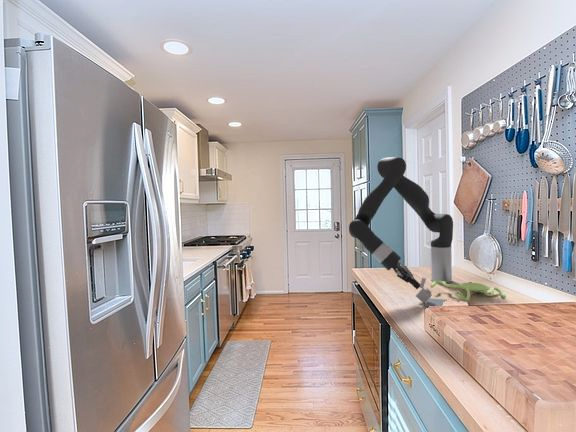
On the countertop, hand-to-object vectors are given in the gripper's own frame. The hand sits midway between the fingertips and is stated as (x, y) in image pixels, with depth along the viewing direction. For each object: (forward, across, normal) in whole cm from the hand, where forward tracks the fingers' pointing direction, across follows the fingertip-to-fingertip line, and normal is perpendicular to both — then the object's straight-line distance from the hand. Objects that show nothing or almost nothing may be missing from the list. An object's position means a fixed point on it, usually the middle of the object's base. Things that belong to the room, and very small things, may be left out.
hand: (419, 287), depth 133 cm
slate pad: (+12, 0, -3) cm, 12 cm away
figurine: (+17, +17, -7) cm, 25 cm away
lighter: (+2, 0, +4) cm, 4 cm away
